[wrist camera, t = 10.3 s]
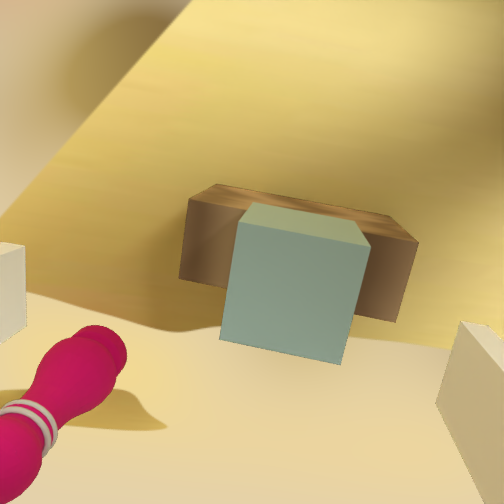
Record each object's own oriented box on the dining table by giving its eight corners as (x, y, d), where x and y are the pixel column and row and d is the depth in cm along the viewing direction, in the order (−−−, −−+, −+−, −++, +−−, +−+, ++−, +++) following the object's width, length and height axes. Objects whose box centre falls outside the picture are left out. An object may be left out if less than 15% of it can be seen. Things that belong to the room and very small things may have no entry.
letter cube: (356, 221, 28) (373, 247, 21) (333, 314, 30) (342, 365, 23) (253, 201, 29) (238, 221, 22) (237, 295, 31) (219, 339, 24)
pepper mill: (66, 316, 44) (-114, 452, 25) (131, 324, 44) (-2, 469, 24) (69, 376, 46) (-95, 545, 27) (132, 384, 46) (9, 563, 26)
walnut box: (389, 216, 38) (418, 242, 28) (372, 277, 39) (395, 322, 30) (216, 183, 39) (188, 198, 29) (207, 245, 40) (178, 278, 31)
